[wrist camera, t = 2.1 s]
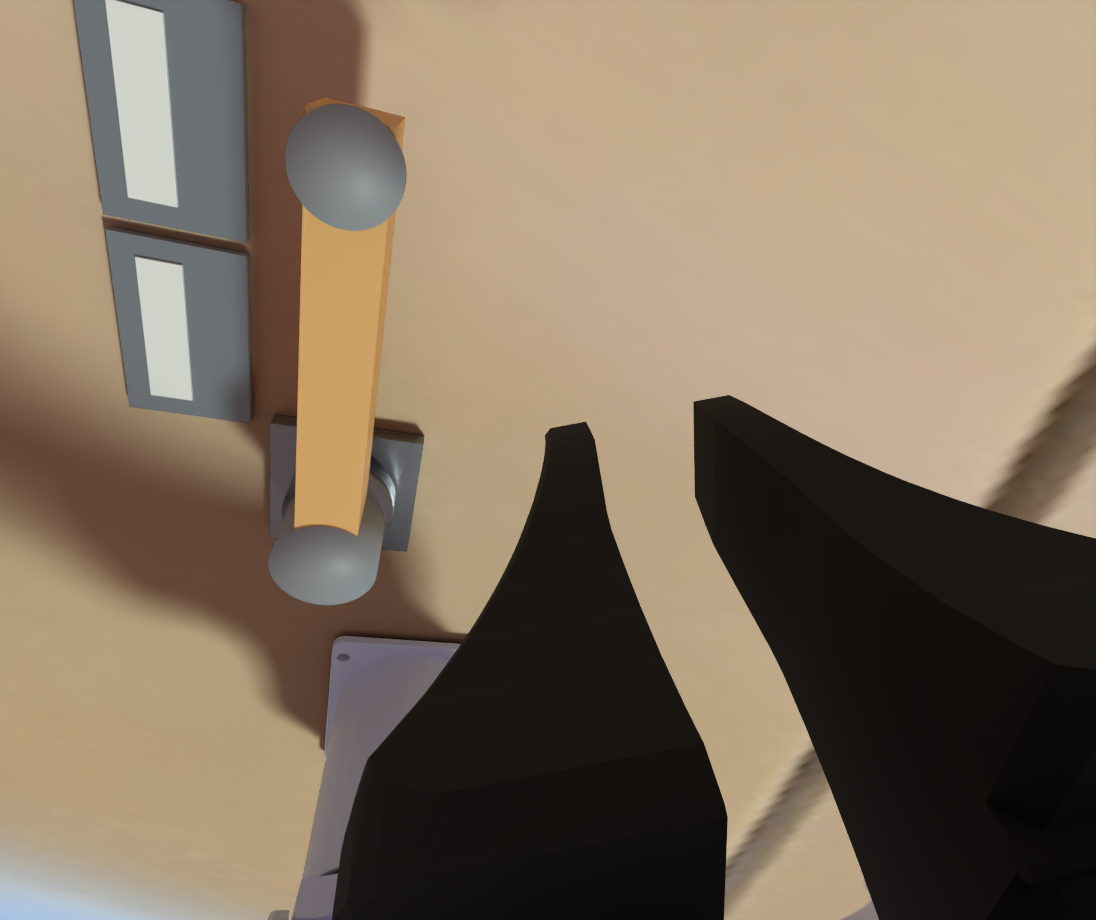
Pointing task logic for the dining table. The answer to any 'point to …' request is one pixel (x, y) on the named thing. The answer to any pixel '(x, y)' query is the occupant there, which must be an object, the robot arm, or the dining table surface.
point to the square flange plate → (386, 484)
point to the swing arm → (339, 345)
